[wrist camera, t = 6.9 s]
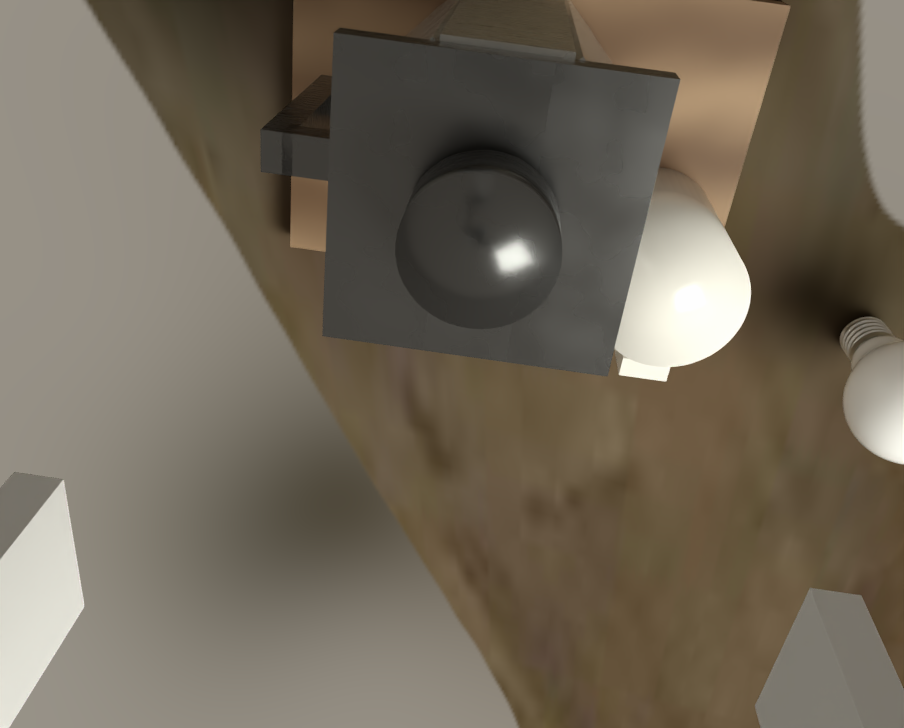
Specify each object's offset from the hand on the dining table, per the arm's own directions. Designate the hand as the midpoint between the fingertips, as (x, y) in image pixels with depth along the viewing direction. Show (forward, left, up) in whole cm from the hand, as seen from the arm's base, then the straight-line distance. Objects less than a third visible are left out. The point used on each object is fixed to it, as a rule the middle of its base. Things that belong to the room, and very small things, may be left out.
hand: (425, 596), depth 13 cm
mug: (+6, +9, -35) cm, 36 cm away
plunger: (0, 0, -31) cm, 31 cm away
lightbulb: (+11, +23, -36) cm, 44 cm away
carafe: (0, -2, -35) cm, 35 cm away
